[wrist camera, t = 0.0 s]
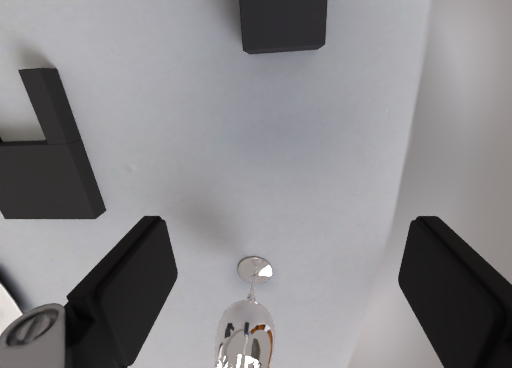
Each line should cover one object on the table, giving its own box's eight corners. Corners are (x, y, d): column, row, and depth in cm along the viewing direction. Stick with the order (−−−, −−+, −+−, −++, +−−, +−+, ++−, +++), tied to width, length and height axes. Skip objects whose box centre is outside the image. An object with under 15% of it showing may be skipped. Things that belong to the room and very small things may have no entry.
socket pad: (-48, 76, 26) (-73, 76, 24) (57, 68, 24) (38, 68, 22) (20, 210, 32) (4, 219, 30) (106, 210, 31) (95, 219, 29)
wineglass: (278, 286, 33) (276, 392, 22) (236, 287, 34) (214, 388, 23) (275, 252, 31) (271, 350, 20) (230, 253, 32) (202, 348, 21)
